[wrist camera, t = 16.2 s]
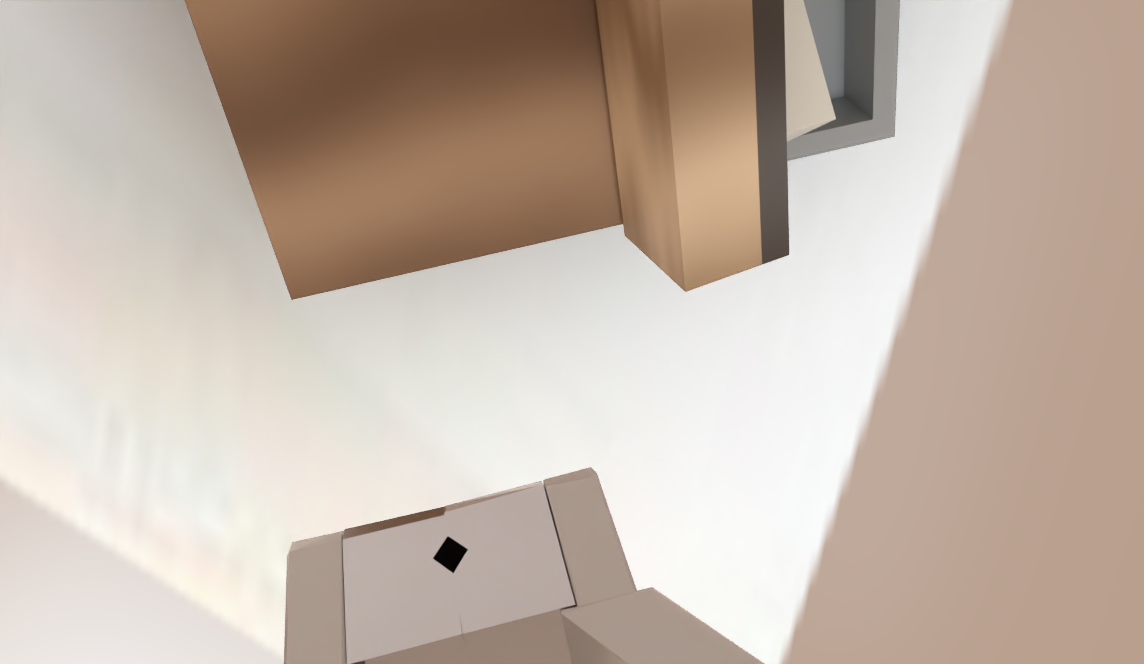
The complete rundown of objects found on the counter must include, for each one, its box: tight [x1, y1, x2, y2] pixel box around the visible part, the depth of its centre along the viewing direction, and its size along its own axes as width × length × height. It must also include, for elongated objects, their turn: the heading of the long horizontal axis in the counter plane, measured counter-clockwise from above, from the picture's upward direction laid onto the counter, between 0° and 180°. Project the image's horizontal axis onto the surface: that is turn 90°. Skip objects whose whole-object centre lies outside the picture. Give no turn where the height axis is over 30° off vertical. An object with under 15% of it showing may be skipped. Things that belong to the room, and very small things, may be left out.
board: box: [185, 0, 623, 300], centre depth 26 cm, size 12×11×4 cm
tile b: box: [784, 0, 836, 142], centre depth 27 cm, size 4×4×2 cm
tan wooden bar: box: [596, 0, 789, 292], centre depth 24 cm, size 12×3×4 cm, turn 8°
